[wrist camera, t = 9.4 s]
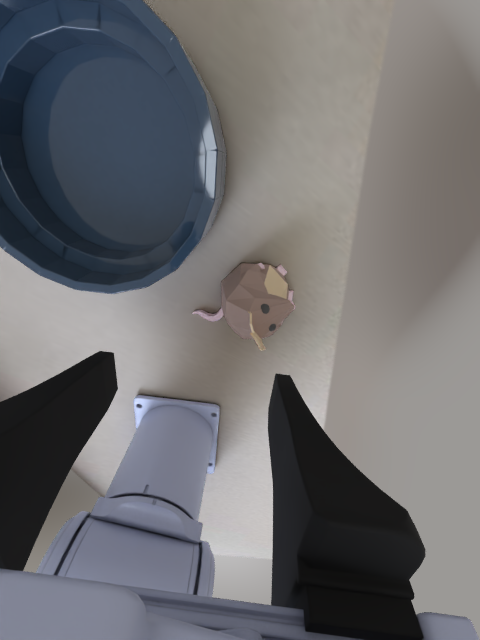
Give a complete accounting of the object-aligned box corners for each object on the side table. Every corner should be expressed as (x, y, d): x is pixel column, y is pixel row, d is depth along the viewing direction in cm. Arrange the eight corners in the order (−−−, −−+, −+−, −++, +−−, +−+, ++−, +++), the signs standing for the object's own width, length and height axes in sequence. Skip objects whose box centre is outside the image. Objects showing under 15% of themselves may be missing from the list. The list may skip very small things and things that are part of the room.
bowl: (219, 280, 22) (209, 305, 18) (31, 259, 22) (-21, 279, 18) (236, 22, 15) (227, -30, 11) (-32, -5, 15) (-135, -66, 11)
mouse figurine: (177, 284, 22) (146, 326, 16) (279, 247, 20) (287, 280, 14) (205, 339, 24) (186, 396, 18) (300, 311, 22) (313, 362, 16)
